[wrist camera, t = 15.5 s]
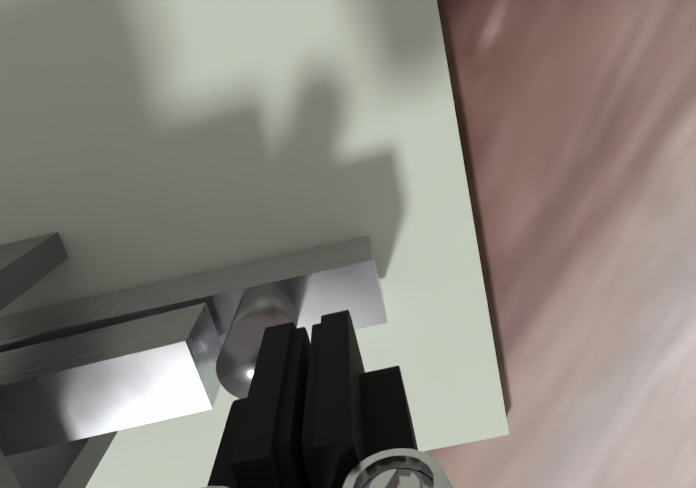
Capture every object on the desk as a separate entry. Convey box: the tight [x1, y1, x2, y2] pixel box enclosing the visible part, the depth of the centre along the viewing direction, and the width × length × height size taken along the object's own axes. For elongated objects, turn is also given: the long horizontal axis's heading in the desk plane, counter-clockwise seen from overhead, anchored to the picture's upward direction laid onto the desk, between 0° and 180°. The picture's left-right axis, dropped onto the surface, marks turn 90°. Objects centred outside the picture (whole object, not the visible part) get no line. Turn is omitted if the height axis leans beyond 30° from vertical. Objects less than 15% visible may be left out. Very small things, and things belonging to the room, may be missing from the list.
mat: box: [0, 0, 509, 488], centre depth 17 cm, size 26×22×1 cm
